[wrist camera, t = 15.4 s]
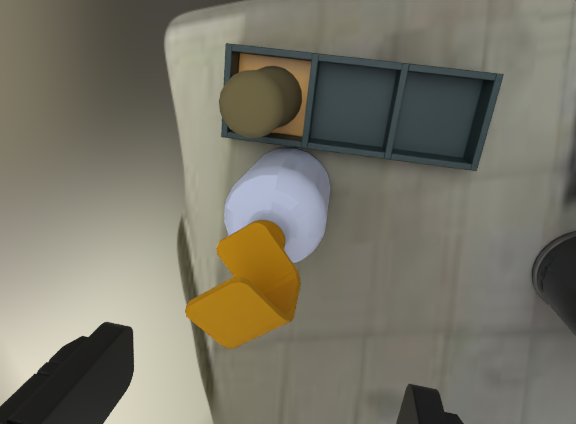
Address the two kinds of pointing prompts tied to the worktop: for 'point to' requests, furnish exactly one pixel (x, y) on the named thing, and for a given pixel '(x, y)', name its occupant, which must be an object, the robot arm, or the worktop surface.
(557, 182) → the worktop surface
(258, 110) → the cork
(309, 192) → the soap bottle
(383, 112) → the tray
